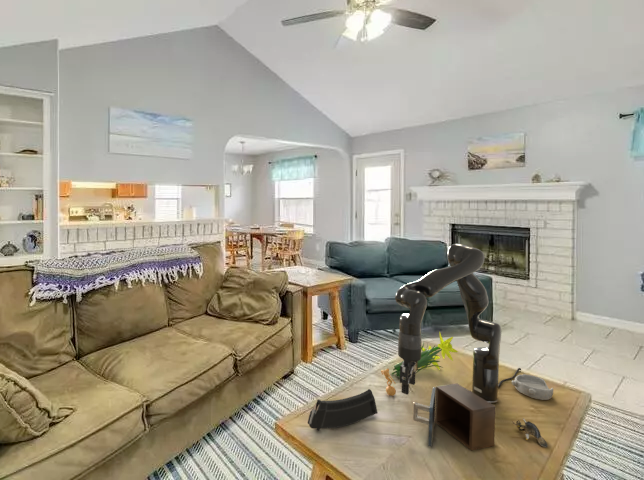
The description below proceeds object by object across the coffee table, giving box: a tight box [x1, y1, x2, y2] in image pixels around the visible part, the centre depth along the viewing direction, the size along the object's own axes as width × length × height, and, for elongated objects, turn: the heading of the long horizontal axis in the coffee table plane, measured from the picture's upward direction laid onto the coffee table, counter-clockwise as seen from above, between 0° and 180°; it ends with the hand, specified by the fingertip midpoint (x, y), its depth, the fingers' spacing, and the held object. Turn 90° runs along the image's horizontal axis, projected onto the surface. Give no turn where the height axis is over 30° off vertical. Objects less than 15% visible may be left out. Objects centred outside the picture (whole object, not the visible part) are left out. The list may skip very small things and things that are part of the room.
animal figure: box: [511, 418, 549, 448], centre depth 134 cm, size 8×7×9 cm
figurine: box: [380, 368, 397, 397], centre depth 161 cm, size 8×6×12 cm
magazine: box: [307, 388, 379, 432], centre depth 142 cm, size 17×3×30 cm
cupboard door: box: [412, 386, 436, 448], centre depth 137 cm, size 6×16×14 cm, turn 148°
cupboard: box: [435, 382, 497, 451], centre depth 136 cm, size 10×16×14 cm, turn 15°
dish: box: [510, 373, 554, 401], centre depth 165 cm, size 14×14×5 cm
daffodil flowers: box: [391, 331, 459, 380], centre depth 182 cm, size 17×15×35 cm
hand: (408, 388), depth 134 cm, fingers open, 8 cm apart
